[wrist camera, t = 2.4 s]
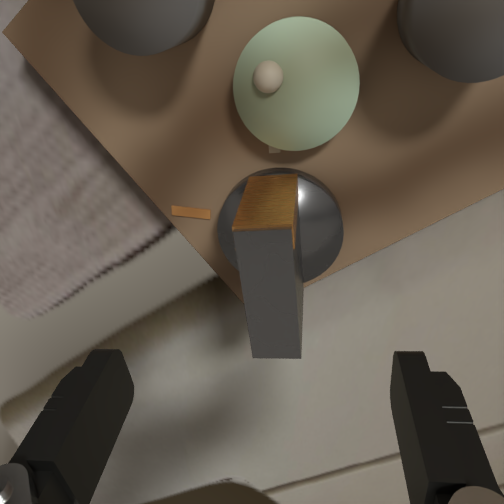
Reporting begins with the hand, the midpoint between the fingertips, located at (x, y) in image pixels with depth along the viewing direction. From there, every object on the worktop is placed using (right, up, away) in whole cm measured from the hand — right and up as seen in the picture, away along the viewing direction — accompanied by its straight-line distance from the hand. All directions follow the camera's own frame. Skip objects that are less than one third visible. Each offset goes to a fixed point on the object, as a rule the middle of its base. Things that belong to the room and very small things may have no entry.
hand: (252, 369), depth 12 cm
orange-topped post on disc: (+1, +5, +9) cm, 10 cm away
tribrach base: (+2, +11, +7) cm, 14 cm away
